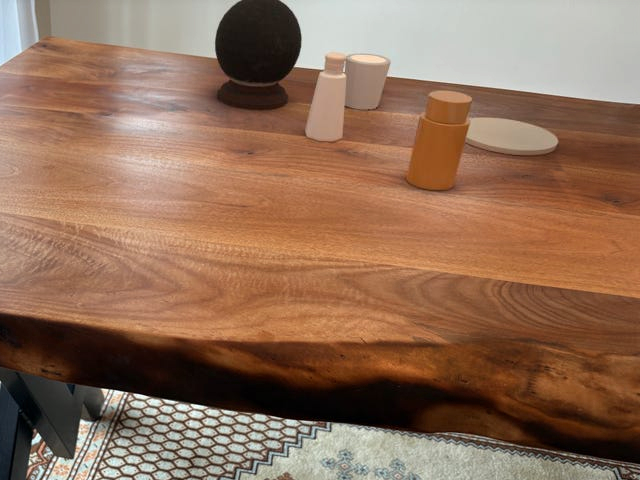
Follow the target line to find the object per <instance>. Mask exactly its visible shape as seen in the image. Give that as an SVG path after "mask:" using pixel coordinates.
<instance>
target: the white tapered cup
mask: <svg viewBox="0 0 640 480" xmlns="http://www.w3.org/2000/svg"><path fill="white" fill-rule="evenodd" d="M345 56H346V57H347V58H346V60H345V66H344V74H345V75H346V92H345V106H344V107H348V108H350V109H355V110H362V111H363V110H365V111H366V110H368V109H369V110H375V109H377V108H378V107H379V105H380V101H381V97H382V94H383V91H384V87H385V84H386V80H387V77H388V74H389V70H390V67H391V64H392V63H391V62H392V61H391V59H390V58H388V57H386V56H382V55H380V54H374V53H373V54H372V53H351V54H348V55H345ZM376 107H377V108H376Z"/></svg>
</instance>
